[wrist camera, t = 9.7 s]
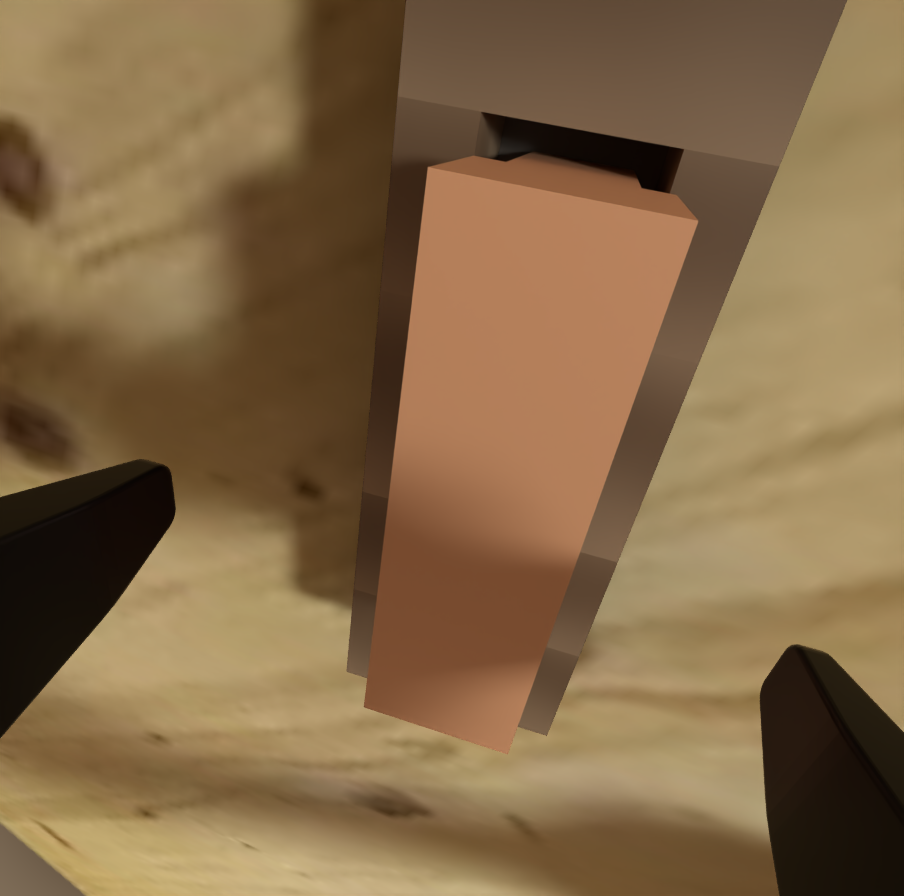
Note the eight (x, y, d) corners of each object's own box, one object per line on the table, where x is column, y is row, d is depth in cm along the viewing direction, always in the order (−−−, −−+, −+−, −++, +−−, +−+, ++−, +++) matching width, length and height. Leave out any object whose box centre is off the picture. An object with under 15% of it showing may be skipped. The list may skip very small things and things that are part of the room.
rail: (555, 652, 19) (546, 735, 16) (381, 599, 19) (346, 671, 17) (827, -75, 9) (907, -148, 7) (471, -123, 10) (424, -203, 8)
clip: (540, 557, 16) (507, 754, 11) (439, 529, 17) (363, 707, 12) (659, 174, 11) (698, 221, 6) (509, 146, 12) (427, 166, 6)
